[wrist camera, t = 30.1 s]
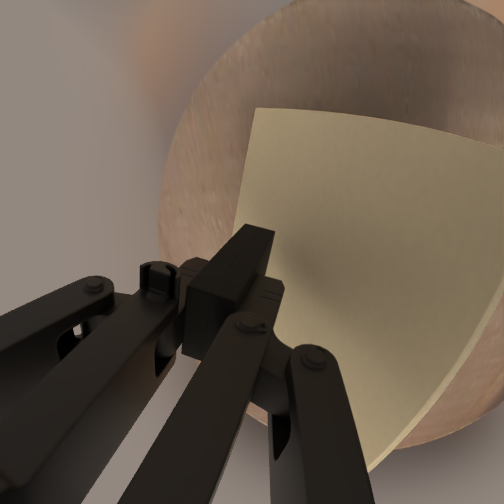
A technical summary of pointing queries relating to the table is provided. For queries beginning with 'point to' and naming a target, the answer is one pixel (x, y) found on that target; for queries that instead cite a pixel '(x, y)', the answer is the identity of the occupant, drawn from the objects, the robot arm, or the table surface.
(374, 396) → the lid
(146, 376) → the robot arm
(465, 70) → the table surface
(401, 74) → the table surface
